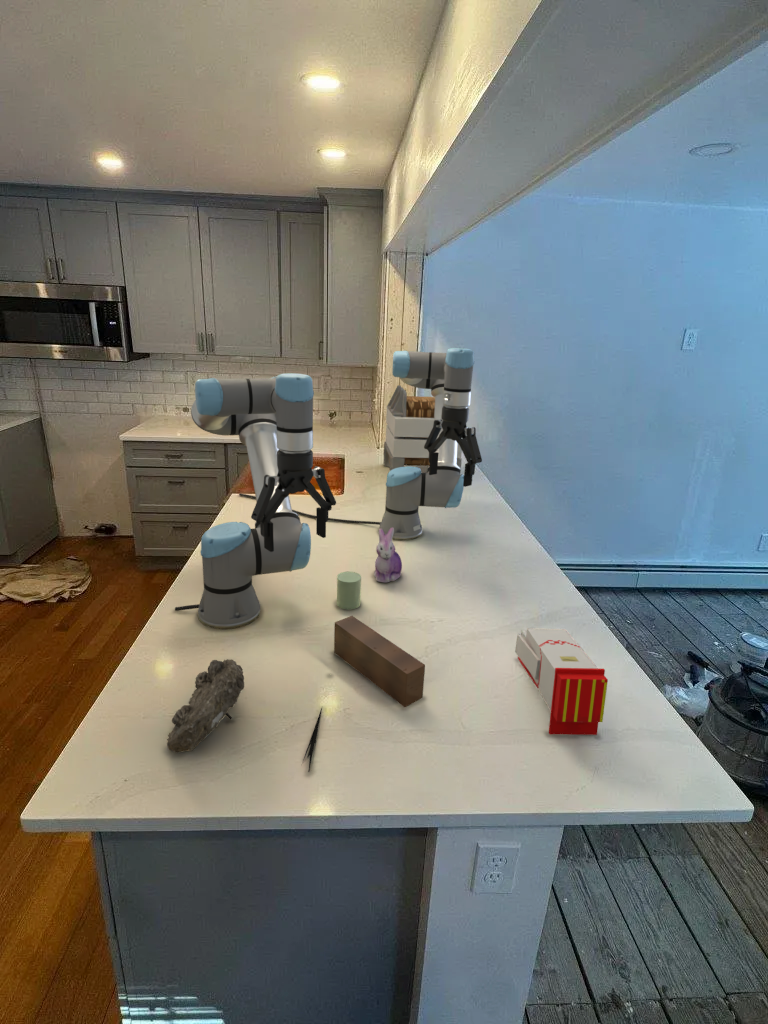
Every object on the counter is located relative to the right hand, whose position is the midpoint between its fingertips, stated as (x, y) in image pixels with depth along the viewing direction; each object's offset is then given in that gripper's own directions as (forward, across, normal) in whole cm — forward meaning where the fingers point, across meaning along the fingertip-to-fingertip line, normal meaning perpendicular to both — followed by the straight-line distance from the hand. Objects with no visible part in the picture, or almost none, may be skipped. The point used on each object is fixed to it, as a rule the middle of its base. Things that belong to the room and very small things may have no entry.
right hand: (449, 479), depth 164 cm
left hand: (+4, +6, -56) cm, 56 cm away
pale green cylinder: (+29, 0, -36) cm, 46 cm away
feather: (+29, +33, -68) cm, 81 cm away
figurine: (+29, -6, -17) cm, 34 cm away
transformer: (+29, -82, +70) cm, 111 cm away
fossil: (+29, +20, -84) cm, 90 cm away
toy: (+29, +55, -24) cm, 67 cm away
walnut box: (+29, +28, -50) cm, 64 cm away
